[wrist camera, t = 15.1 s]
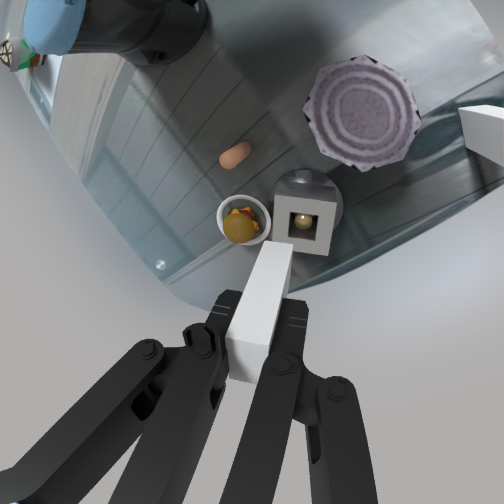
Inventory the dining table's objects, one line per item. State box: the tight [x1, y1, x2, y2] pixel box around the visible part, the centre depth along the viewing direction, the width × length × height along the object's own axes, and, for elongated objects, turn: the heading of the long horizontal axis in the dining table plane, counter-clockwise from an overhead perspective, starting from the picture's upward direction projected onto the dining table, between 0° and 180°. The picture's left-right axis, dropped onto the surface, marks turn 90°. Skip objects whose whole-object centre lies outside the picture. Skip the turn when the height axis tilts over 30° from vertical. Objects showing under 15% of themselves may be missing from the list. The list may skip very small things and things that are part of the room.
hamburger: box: [217, 195, 271, 245], centre depth 42 cm, size 12×12×6 cm
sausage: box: [219, 141, 252, 169], centre depth 35 cm, size 2×2×8 cm
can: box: [302, 55, 422, 172], centre depth 26 cm, size 11×11×12 cm
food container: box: [0, 36, 46, 72], centre depth 28 cm, size 12×6×10 cm, turn 51°
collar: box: [272, 181, 337, 256], centre depth 37 cm, size 8×8×6 cm
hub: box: [269, 169, 344, 230], centre depth 38 cm, size 11×11×6 cm
